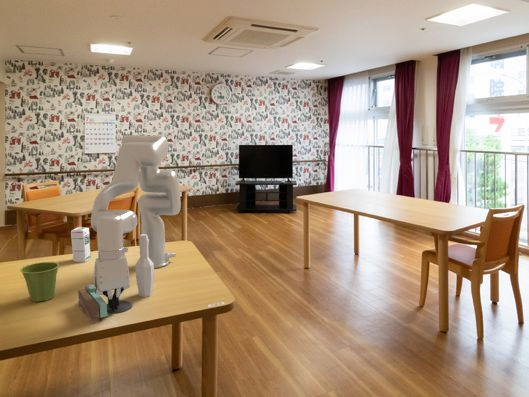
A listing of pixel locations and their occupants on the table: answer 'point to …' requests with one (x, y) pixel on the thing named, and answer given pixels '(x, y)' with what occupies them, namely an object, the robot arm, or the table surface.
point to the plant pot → (40, 280)
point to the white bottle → (144, 269)
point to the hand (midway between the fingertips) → (113, 308)
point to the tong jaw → (98, 301)
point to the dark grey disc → (121, 307)
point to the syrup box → (81, 244)
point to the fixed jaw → (88, 304)
